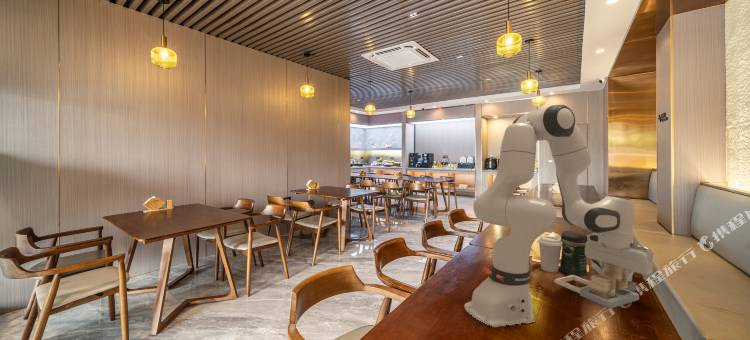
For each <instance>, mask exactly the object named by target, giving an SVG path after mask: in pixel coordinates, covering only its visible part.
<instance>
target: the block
mask: <svg viewBox="0 0 750 340" xmlns="http://www.w3.org/2000/svg"><path fill="white" fill-rule="evenodd" d="M627 274H628V273H627V272H626V269H624V268H621V267H617V266H614V265H611V264H608V263H604V275H606V276H608V277H611V278H614V279H616V283H615V289H617V290H621V289H625V288H627V287H628V282H626V281H623V280H622V276H623V275H627Z"/></svg>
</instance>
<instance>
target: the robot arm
mask: <svg viewBox="0 0 750 340" xmlns="http://www.w3.org/2000/svg"><path fill="white" fill-rule="evenodd" d="M538 141H539V142H540V141H541V142H543V141H546V142H547V143H548V144H549V145H548V146H549V148H550V149H549V150H550V152H551V156H552V159H553V161H554V162H553V163H554V165H555V174H556V181H557V184H558V190H559V192H560V196H561V201H562V202H561V203H562V207H561V216H562V218H563V221H565V222H566V223H567V224H569V225H570V226H574V227H578V228H580V229H583V230H587V231H589V232H593V233H590V234H587V235H586V236H587V240H588V241H587V242H586V245H585V255H586V258H587V259H590V260H592V259H594V260H597V261H599V264H600V266H601V268H602V269H603V270H602V273H603V274H604V263H608V264H611V265H614V266H617V267H621V268H624V269H626V272H627V273H628V274H627V275H623V276H622V280H623V281H626V282H629V281H630V276H631V275H632V276H633V275H634V273H637V274H639V275H644V276H648V275H651V274H652V273H653V272H654V264H653V259H654V253H653V251H652V250H651V249H649V248H648V247H647V246H644V245H639V244H635V243H634V230H633V226H634V223H635V206H634V203H633V201H632V200H631V199H630V198H627V197H623V196H619V195H612V194H611V195H610V194H608V195H605V197H604V198H603V199H601V200H599V201H597V202H593V203H588V202H586V201H585V200H583V198H582V197H581V193H580V188H579V184H578V178H579V177H578V176H579V175H581V174H582V173H583V172H585V171H586V170H587V169H588V168H589V167H590V165H591V162H592V159H591V154H590V149H589V147H588V144H587V141H586V139H585V137H584V135H583V133H582V131H581V129H580V128H579V126H578V124H577V123H576V117H575V114H574V112H573V110H572V109H571V108H570V107H568V106H567V105H565V104H555V105H550V106H547V107H543V108H539V109H538V108H537V109H535V110H531V111H529V112H527V113H524V114H522V115H520V116H518V117H516V118H515V120H513V122H512V123H511V124H509V125H508V126H507V127H506V129H505V132H504V134H503V138H502V140H501V145H500V152H499V160H498V167H497V172H496V175H495V178H494V180H493V182H492V183H491V185H490V186H489V187H488V188H487V189H486V190H485V191H483V192H481V194H480V193H479V195H478V196H477V197H476V198H475V199H474V202H473V206H472V207H473V212H474V215H475V218H477V219H478V220H479V221H482V222H484V223H487V224H490V225H495V226H502V227H508V228H509V229H510V234H509V235H504V236H502V237H500V238H498V239H497V240H495V242H494V243H493V245H492V252H493V253H492V255H493V256H492V257H493V258H492V264H491V267H490V268H488V267H487V266H486V267H485V266H484V267H483V269H482V272H483V274H486V275H487V276H488V277H487V278H486V279H484V280H483V281H482V282H481V284H479V285H478V286H476V287H475V289H474V290H473V292H472V296H471V300H470V301H468V302H465V303H464V307H463V308H464V309H465V311H466V312H467V313H468V314H469V315H470V316H471V315H472V316H471V317H472V318H473V319H475V318H476V319H475V320H477V321H478V320H479V321H478V322H480V321H481V322H480V323H482V322H483V323H482V324H484V323H485V324H484V325H486V324H487V325H486V326H488V325H490V326H489V327H491V326H492V328H500V326H501V327H507V326H506V325H509V326H516V325H515V324H518V325H522V324H521V323H526V324H533V323H532V322H534V323H535V322H536V320H535V319H536V318H535V316H534V310H533V301H532V300H533V299H532V293H531V289H530V284H529V283H530V282H531V278H532V277H531V270H530V255H531V254H530V253H531V249H532V246H533V244H534V242H535V240H536V239H537V238H539V236H540V235H541V234H543V233H544V232H547V231H548V230H551V228H553V226H554V225H555V223H556V219H557V211H556V208H555V206H554V205H553V203H552V202H551V201H550V200H548V199H544V198H541V197H537V196H532V195H522V194H521V195H520V194H515V192H516V189H518V187H520V186H523V185H525V184H528V183H529V182H530V181H531V180H532V179H533V177H534V176H535V168H536V158H537V157H536V156H537V155H536V154H537V143H538Z"/></svg>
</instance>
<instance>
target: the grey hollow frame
mask: <svg viewBox="0 0 750 340" xmlns="http://www.w3.org/2000/svg"><path fill="white" fill-rule="evenodd" d="M579 296H581V297H583V298H586V299H587V300H590V301H592V302H595V303H597V304H599V305H602V306H604V307H606V308H608V309H614V308H617V307H621V306H623V305H626V304H630V303H633V302H637V301H639V300H640V294H639V293H637V292H635V291H634V292H632V291H629V290H626V289H621V290H617V289H615V298H611V299H608V300H607V299H604V298H602V297H599V296H597V295H594V294H592V293H591V287H590V288H586V289H582V290H580V293H579Z"/></svg>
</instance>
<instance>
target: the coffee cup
mask: <svg viewBox="0 0 750 340" xmlns="http://www.w3.org/2000/svg"><path fill="white" fill-rule="evenodd" d="M537 243H539V244H538V245H539V257H540V258H539V259H540V269H541V270H543V272H548V273H557V272H559V269H560V261H561V254H562V245H563V243H562V242H561V238H559V237H555V236H550V235H542V236H540V237H539V238H538V241H537Z"/></svg>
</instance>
